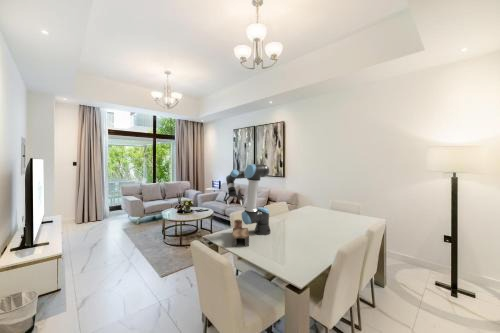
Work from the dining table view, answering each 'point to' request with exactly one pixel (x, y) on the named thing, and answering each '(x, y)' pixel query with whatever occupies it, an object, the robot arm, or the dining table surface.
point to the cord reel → (237, 223)
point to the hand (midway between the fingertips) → (235, 206)
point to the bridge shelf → (241, 235)
